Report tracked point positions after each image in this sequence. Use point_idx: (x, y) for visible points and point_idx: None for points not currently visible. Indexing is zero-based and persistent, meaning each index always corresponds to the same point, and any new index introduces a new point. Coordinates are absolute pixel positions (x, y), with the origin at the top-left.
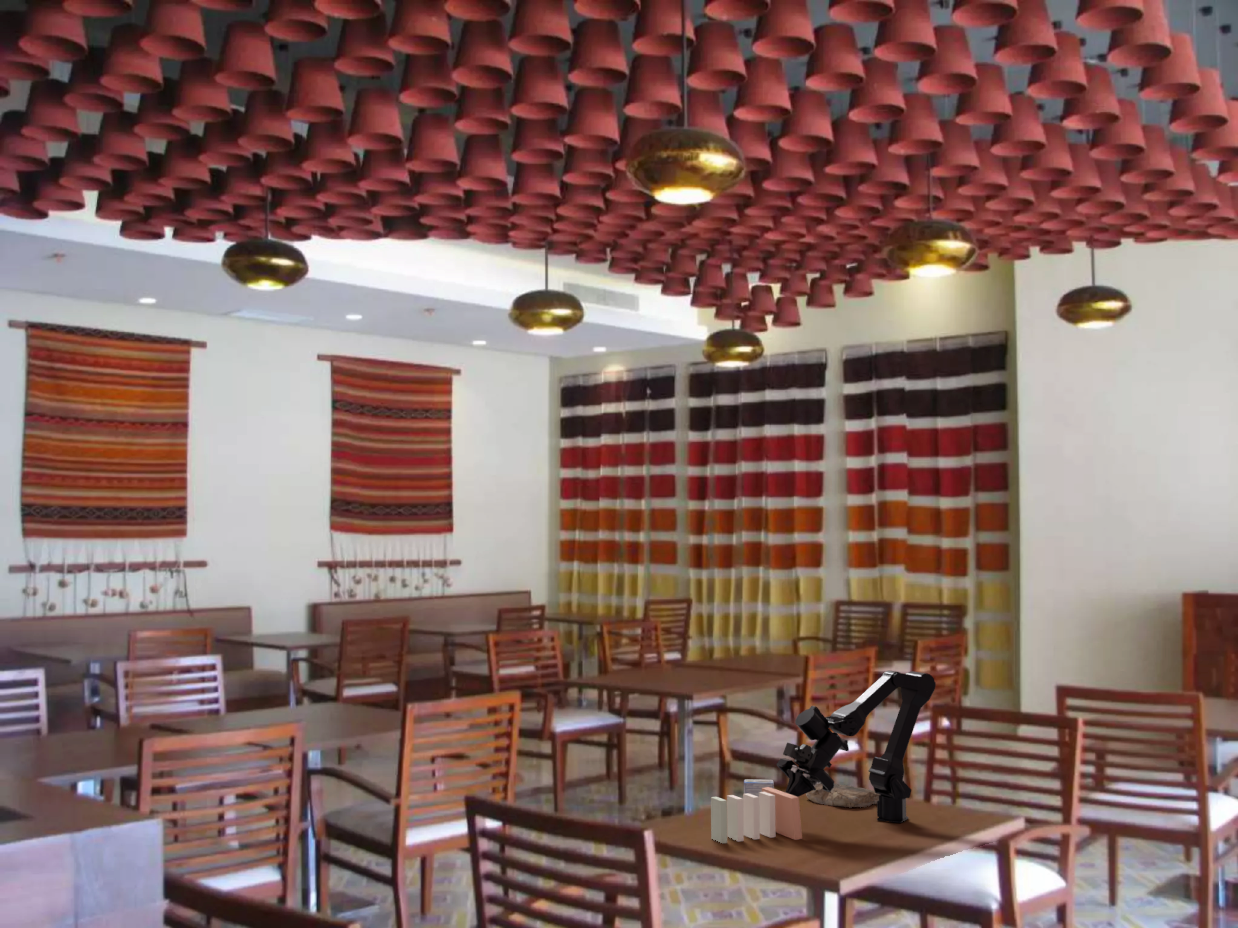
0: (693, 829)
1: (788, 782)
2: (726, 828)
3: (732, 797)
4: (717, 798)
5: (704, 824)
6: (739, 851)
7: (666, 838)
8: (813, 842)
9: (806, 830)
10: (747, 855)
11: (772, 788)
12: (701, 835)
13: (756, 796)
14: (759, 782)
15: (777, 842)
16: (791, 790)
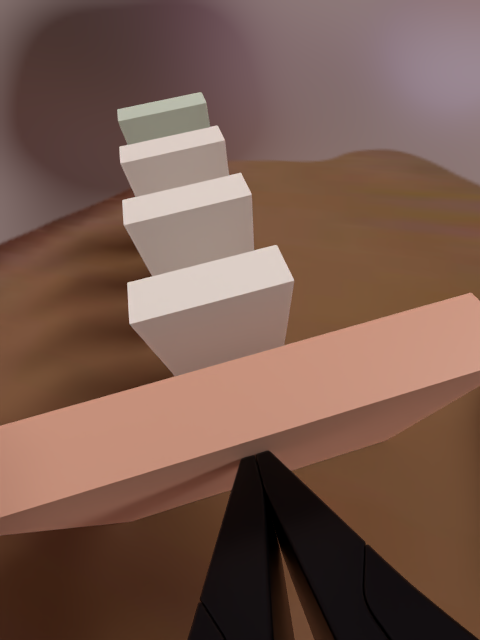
0: (333, 206)
1: (444, 616)
2: None
3: (166, 137)
4: (169, 105)
5: (400, 232)
6: (74, 265)
7: (247, 162)
8: (45, 560)
9: (301, 634)
10: (28, 274)
11: (443, 373)
12: (263, 214)
13: (147, 217)
14: None
15: (117, 388)
16: (212, 560)
